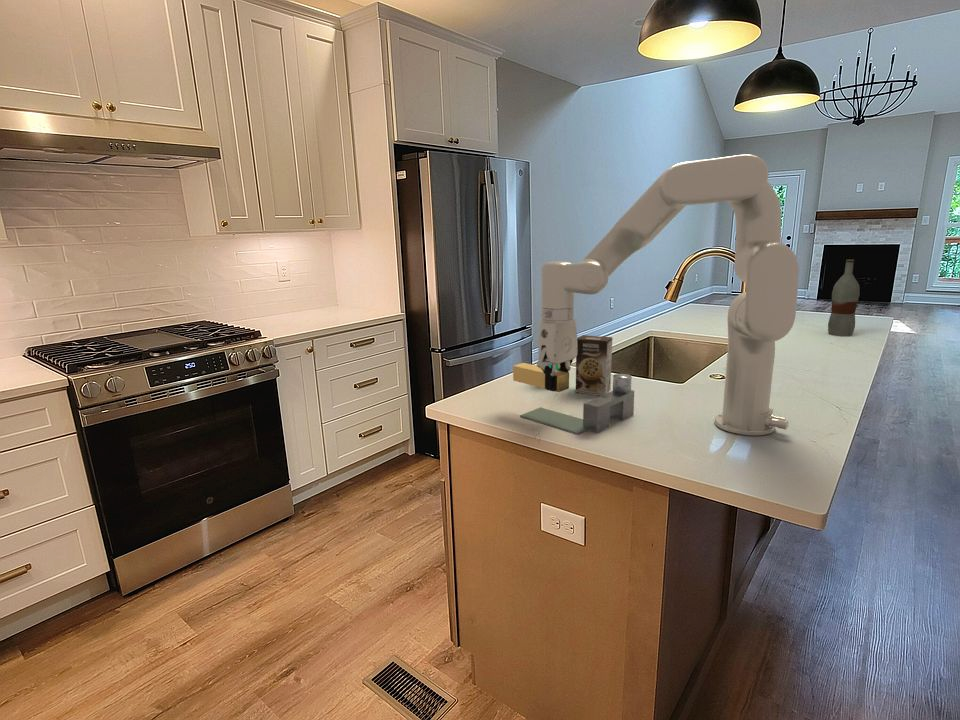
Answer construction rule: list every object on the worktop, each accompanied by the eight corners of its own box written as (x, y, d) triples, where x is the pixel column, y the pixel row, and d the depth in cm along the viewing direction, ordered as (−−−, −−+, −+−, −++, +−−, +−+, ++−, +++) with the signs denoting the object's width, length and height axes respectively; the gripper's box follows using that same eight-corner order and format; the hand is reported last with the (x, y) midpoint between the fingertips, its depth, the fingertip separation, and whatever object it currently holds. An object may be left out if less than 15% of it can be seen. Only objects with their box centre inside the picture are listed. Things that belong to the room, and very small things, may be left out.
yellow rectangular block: (568, 388, 127) (569, 372, 126) (558, 392, 125) (559, 376, 124) (523, 377, 138) (523, 362, 137) (513, 380, 135) (513, 365, 134)
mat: (597, 424, 126) (597, 423, 126) (577, 434, 120) (577, 432, 120) (540, 408, 138) (540, 407, 138) (520, 416, 133) (520, 415, 133)
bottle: (822, 332, 216) (831, 259, 209) (846, 332, 215) (856, 258, 207) (833, 336, 207) (843, 260, 200) (858, 336, 206) (869, 260, 198)
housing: (634, 415, 131) (635, 375, 128) (598, 433, 120) (598, 390, 118) (618, 411, 134) (620, 372, 132) (582, 428, 124) (582, 386, 121)
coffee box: (574, 392, 151) (575, 338, 147) (581, 386, 156) (581, 334, 152) (605, 396, 146) (607, 340, 142) (611, 389, 152) (612, 336, 148)
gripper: (547, 321, 115) (547, 399, 119) (591, 311, 126) (589, 383, 130) (522, 317, 120) (522, 392, 124) (566, 308, 131) (565, 378, 136)
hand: (556, 387), depth 127 cm, fingers closed on yellow rectangular block, 4 cm apart
